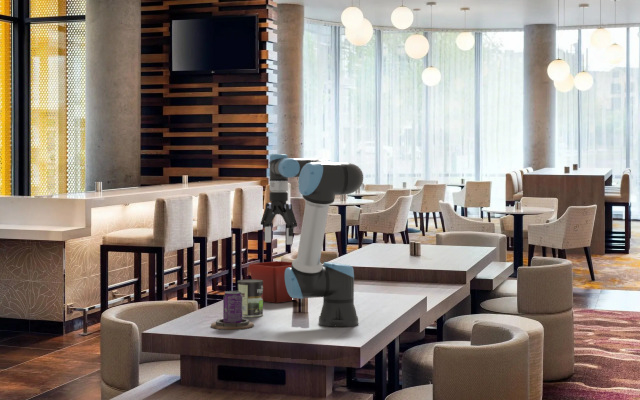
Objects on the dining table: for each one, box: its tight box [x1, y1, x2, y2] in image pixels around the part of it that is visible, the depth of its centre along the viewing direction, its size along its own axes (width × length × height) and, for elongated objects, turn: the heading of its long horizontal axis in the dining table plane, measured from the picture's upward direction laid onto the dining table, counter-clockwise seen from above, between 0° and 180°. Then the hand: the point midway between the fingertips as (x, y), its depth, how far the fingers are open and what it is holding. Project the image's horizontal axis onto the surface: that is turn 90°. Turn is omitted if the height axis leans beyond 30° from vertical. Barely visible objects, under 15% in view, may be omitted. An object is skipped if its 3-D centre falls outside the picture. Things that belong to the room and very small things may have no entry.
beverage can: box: [222, 290, 243, 323], centre depth 312 cm, size 7×7×12 cm
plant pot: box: [248, 260, 293, 304], centre depth 377 cm, size 19×19×17 cm
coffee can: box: [237, 278, 264, 318], centre depth 337 cm, size 10×10×14 cm
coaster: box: [210, 317, 255, 331], centre depth 312 cm, size 16×16×2 cm
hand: (278, 243), depth 342 cm, fingers open, 13 cm apart
